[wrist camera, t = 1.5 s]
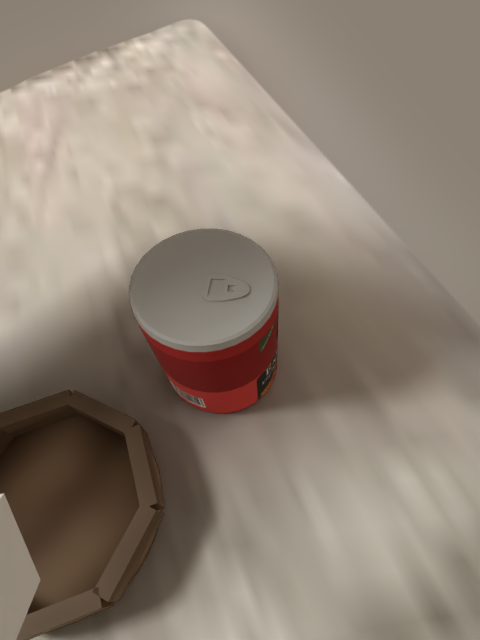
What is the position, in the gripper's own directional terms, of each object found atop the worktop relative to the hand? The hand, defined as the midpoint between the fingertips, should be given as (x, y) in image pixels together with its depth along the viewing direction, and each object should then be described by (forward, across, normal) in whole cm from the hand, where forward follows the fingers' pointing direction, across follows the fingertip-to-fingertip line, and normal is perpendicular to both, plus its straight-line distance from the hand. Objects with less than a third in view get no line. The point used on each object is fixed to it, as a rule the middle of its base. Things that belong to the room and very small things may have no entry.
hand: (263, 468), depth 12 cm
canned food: (+20, 0, -4) cm, 21 cm away
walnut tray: (+16, -13, -9) cm, 22 cm away
